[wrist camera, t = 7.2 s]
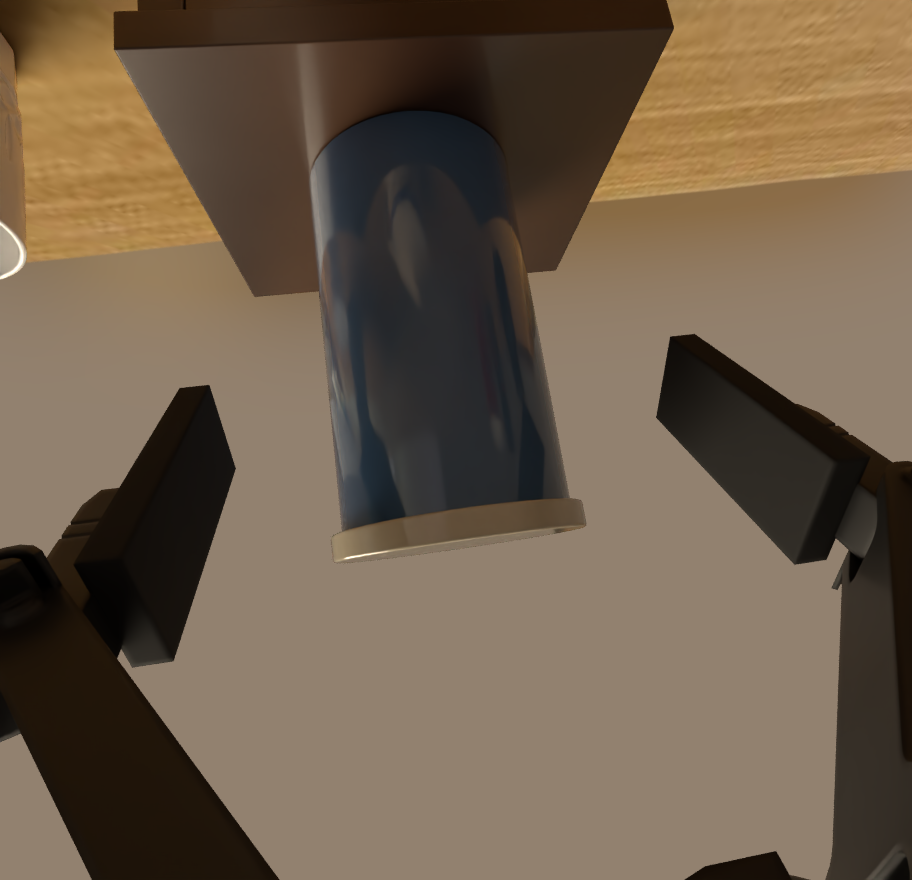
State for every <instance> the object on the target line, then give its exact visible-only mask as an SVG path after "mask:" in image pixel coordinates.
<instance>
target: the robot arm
mask: <svg viewBox="0 0 912 880" xmlns="http://www.w3.org/2000/svg"><path fill="white" fill-rule="evenodd" d="M656 418H657V419H658V420H659V421H660V422H661V423H662V424H663V425H664V426H665V427H666V429H667V430H668V431H669V432H670V433H671V434H672V435H673V436H674V437H675V438H676V439H677V440H678V441H679V442H680V443H681V444H682V446H683V447H684V448H685V449H686V450H687V451H688V452H689V453H690V454H691V455H692V456H693V457H694V458H695V459H696V460H697V462H699V464H700V465H701V466H702V467H703V468H704V469H705V470H706V471H707V472H708V473H709V474H710V475H711V476H712V477H713V478H714V480H715V481H716V482H717V483H718V484H719V485H720V486H721V487H722V488H723V489H724V490H725V491H726V492H727V493H728V494H729V496H730V497H731V498H732V499H734V501H735V502H736V503H737V504H738V505H739V506H740V507H741V508H742V509H743V510H744V511H745V513H747V515H748V516H749V517H750V518H751V519H752V520H753V521H754V522H755V523H756V524H757V525H758V526H759V527H760V528H761V530H762V531H763V532H764V533H765V534H766V535H767V536H768V537H769V538H770V539H771V540H772V541H773V542H774V543H775V544H776V545H777V547H778V548H779V549H780V550H781V551H782V552H783V553H784V554H785V555H786V556H787V557H788V558H789V559H790V560H791V561H792V562H793V563H794V564H802V563H809V562H814V561H821V560H826V559H827V557H828V555H829V553H830V550H831V548H832V545H833V543H834V541H835V539H837V540H839V541H840V542H841V543H842V544H843V545H844V546H845V547H846V548H847V549H848V550H849V551H848V553H847V555H846V557H845V560H844V562H843V564H842V566H841V568H840V570H839V573H838V575H837V577H836V579H835V582H834V584H833V586H832V588H833V589H836V590H838V588H839V586H840V584H842V598H841V600H842V601H841V627H840V655H839V683H838V711H837V739H836V767H835V795H834V824H833V848H832V857H831V863H830V867H829V870H828V873H827V876H826V880H912V462H910V461H901V462H894V463H893V462H891V461H890V460H888V459H887V458H885V457H884V456H882V455H881V454H879V453H878V452H877V451H875V450H873V449H872V448H871V447H869V446H868V445H866V444H865V443H863V442H862V441H860V440H859V439H857V438H856V437H854V436H853V435H849V434H848V432H847V431H845V430H844V429H843V428H841V427H840V426H835V423H834V422H832V421H831V420H829V419H828V418H826V417H825V416H823V415H822V414H820V413H819V412H817V411H814V410H812V409H809V408H807V407H804V406H802V405H799V404H794V403H793V402H791V401H790V400H788V399H787V398H786V397H784V396H783V395H781V394H780V393H778V392H777V391H776V390H774V389H773V388H771V387H770V386H769V385H767V384H766V383H764V382H763V381H761V380H760V379H758V378H757V377H756V376H754V375H753V374H751V373H750V372H748V371H747V370H746V369H744V368H743V367H741V366H740V365H738V364H737V363H736V362H734V361H732V360H731V359H729V358H728V357H727V356H725V355H724V354H722V353H721V352H720V351H718V350H717V349H715V348H714V347H713V346H711V345H710V344H708V343H707V342H705V341H704V340H702V339H701V338H700V337H698V336H697V335H695V334H691V335H681V336H672V337H670V341H669V347H668V352H667V358H666V365H665V370H664V376H663V381H662V387H661V393H660V399H659V405H658V411H657V416H656ZM235 469H236V468H235V465H234V462H233V458H232V455H231V452H230V449H229V446H228V443H227V440H226V436H225V433H224V430H223V427H222V424H221V420H220V417H219V414H218V411H217V408H216V405H215V402H214V398H213V395H212V392H211V389H210V386H209V385H204V386H195V387H186V388H180V389H179V390H178V392H177V393H176V395H175V397H174V398H173V400H172V402H171V403H170V405H169V407H168V408H167V410H166V412H165V413H164V415H163V417H162V418H161V420H160V421H159V423H158V425H157V427H156V428H155V430H154V431H153V433H152V435H151V437H150V438H149V440H148V441H147V443H146V445H145V446H144V448H143V450H142V451H141V453H140V454H139V456H138V458H137V459H136V461H135V463H134V464H133V466H132V468H131V469H130V471H129V473H128V474H127V476H126V478H125V479H124V481H123V483H122V484H121V486H120V488H115V489H105V490H101V491H99V492H98V493H97V494H96V495H94V496H93V497H92V498H91V499H89V500H88V501H87V502H86V503H84V504H83V505H82V506H81V508H80V509H79V511H78V512H77V514H76V515H75V517H74V518H73V519H72V521H71V525H69V526H68V527H67V528H66V530H65V531H64V533H63V534H62V539H59V540H58V542H57V543H56V545H55V546H54V548H53V549H52V551H51V552H50V554H49V555H48V557H47V558H46V556H45V555H44V553H43V551H42V550H40V549H39V548H37V547H35V546H34V545H16V546H11V547H6V548H2V549H0V742H2V741H4V740H6V739H9V738H11V737H14V736H16V735H18V734H22V736H23V739H24V741H25V742H26V745H27V746H28V749H29V751H30V753H31V755H32V757H33V759H34V761H35V763H36V765H37V767H38V769H39V772H40V773H41V776H42V778H43V780H44V782H45V784H46V786H47V788H48V790H49V792H50V794H51V796H52V798H53V800H54V802H55V805H56V807H57V809H58V811H59V813H60V815H61V817H62V819H63V821H64V823H65V825H66V827H67V829H68V831H69V833H70V836H71V838H72V840H73V841H74V844H75V846H76V847H77V850H78V852H79V854H80V856H81V858H82V860H83V862H84V864H85V866H86V869H87V871H88V873H89V875H90V877H91V878H92V880H279V879H278V877H277V876H276V874H275V873H274V872H273V870H272V869H271V868H270V866H269V865H268V864H267V862H266V861H265V860H264V858H263V857H262V855H261V854H260V853H259V851H258V850H257V849H256V847H255V846H254V845H253V843H252V842H251V841H250V839H249V838H248V836H247V835H246V834H245V832H244V831H243V830H242V828H241V827H240V826H239V824H238V823H237V822H236V820H235V819H234V817H233V816H232V815H231V813H230V812H229V811H228V809H227V808H226V806H225V805H224V804H223V802H222V801H221V800H220V799H219V797H218V796H217V794H216V793H215V792H214V790H213V789H212V787H211V786H210V785H209V783H208V782H207V781H206V779H205V778H204V777H203V775H202V774H201V772H200V771H199V770H198V768H197V767H196V766H195V764H194V763H193V762H192V760H191V759H190V757H189V756H188V755H187V753H186V752H185V751H184V749H183V748H182V747H181V745H180V744H179V743H178V741H177V740H176V738H175V737H174V736H173V734H172V733H171V732H170V730H169V729H168V728H167V726H166V725H165V723H164V722H163V721H162V719H161V718H160V717H159V715H158V714H157V713H156V711H155V710H154V709H153V707H152V706H151V705H150V703H149V702H148V700H147V699H146V698H145V696H144V695H143V694H142V692H141V691H140V689H139V688H138V687H137V685H136V684H135V683H134V681H133V680H132V679H131V677H130V676H129V675H128V673H127V672H126V670H125V669H124V668H123V667H122V665H121V664H120V662H119V661H118V660H117V657H118V655H119V652H120V650H121V649H122V651H123V652H124V654H125V656H126V658H127V659H128V661H129V663H130V665H131V666H132V667H139V666H146V665H152V664H159V663H164V662H172V661H174V658H175V655H176V652H177V649H178V646H179V643H180V640H181V636H182V633H183V630H184V627H185V624H186V621H187V618H188V614H189V612H190V608H191V605H192V602H193V599H194V596H195V593H196V590H197V587H198V584H199V581H200V578H201V575H202V571H203V568H204V565H205V562H206V559H207V556H208V553H209V550H210V547H211V543H212V540H213V537H214V534H215V531H216V528H217V525H218V522H219V519H220V516H221V513H222V510H223V506H224V503H225V500H226V497H227V494H228V491H229V488H230V485H231V482H232V478H233V475H234V472H235ZM685 880H809V879H804V878H801V877H797V876H791V875H789V874H788V872H787V870H786V868H785V866H784V864H783V863H782V861H781V859H780V857H779V855H778V854H777V852H776V851H774V852H770V853H765V854H761V855H756V856H751V857H746V858H742V859H737V860H733V861H728V862H723V863H718V864H714V865H709V866H705V867H704V868H702V869H700V870H699V871H697V872H696V873H694V874H693V875H691V876H690V877H688V878H687V879H685Z"/></svg>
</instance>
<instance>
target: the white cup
mask: <svg viewBox="0 0 912 880" xmlns="http://www.w3.org/2000/svg"><path fill="white" fill-rule="evenodd" d="M26 259H27V245H26V214H25V170H24V163H23V139H22V132H21V113H20V110H19V108H18V102H17V75H16V67H15V59H14V52H13V50H12V48H11V47H10V45H9V44H8V42H7V41H6V40H5V38H4V37H3V35H2V34H1V33H0V280H1V279H4V278H6V277H9V276H11V275H13V274H15V273H16V272H18V271H19V270H20V269H21V268H22V267H23V266H24V264H25V262H26Z"/></svg>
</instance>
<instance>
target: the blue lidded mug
mask: <svg viewBox="0 0 912 880" xmlns="http://www.w3.org/2000/svg"><path fill="white" fill-rule="evenodd" d="M309 194H310V204H311V215H312V225H313V235H314V246H315V256H316V266H317V277H318V287H319V297H320V307H321V318H322V328H323V339H324V349H325V360H326V369H327V379H328V391H329V401H330V411H331V422H332V432H333V442H334V452H335V463H336V473H337V484H338V494H339V504H340V515H341V525H342V532H339V533H337V534H335V535H333V536H332V538H331V545H332V555H333V562H334V563H353V562H363V561H372V560H380V559H389V558H397V557H405V556H412V555H420V554H427V553H433V552H441V551H448V550H455V549H461V548H469V547H476V546H482V545H489V544H495V543H501V542H508V541H514V540H521V539H527V538H533V537H539V536H544V535H550V534H555V533H561V532H566V531H571V530H575V529H580V528H583V527H585V526H586V519H585V514H584V510H583V504H582V501H581V500H578V499H572V498H570V497H569V492H568V487H567V481H566V476H565V471H564V466H563V460H562V455H561V450H560V444H559V439H558V433H557V428H556V423H555V417H554V412H553V408H552V402H551V396H550V391H549V386H548V380H547V375H546V370H545V365H544V359H543V354H542V349H541V343H540V338H539V333H538V328H537V322H536V317H535V311H534V306H533V301H532V296H531V290H530V285H529V280H528V274H527V269H526V264H525V258H524V253H523V248H522V243H521V237H520V232H519V227H518V221H517V216H516V211H515V205H514V200H513V195H512V190H511V184H510V179H509V174H508V168H507V164H506V159H505V156H504V154H503V152H502V150H501V148H500V147H499V145H498V144H497V142H496V141H495V140H494V139H493V138H492V137H491V136H490V135H489V134H488V133H487V132H486V131H485V130H483V129H482V128H481V127H479V126H478V125H476V124H474V123H472V122H470V121H468V120H466V119H463V118H461V117H458V116H455V115H451V114H447V113H443V112H436V111H427V110H408V111H399V112H392V113H387V114H383V115H379V116H376V117H373V118H370V119H367V120H364V121H362V122H360V123H358V124H355V125H353V126H351V127H350V128H348V129H347V130H345V131H343V132H342V133H340V134H339V135H338V136H337V137H335V138H334V139H333V140H332V141H330V143H329V144H328V145H327V146H326V147H325V148H324V149H323V150H322V152H321V153H320V155H319V156H318V158H317V159H316V161H315V163H314V166H313V168H312V170H311V175H310V179H309Z"/></svg>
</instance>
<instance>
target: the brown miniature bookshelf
mask: <svg viewBox="0 0 912 880" xmlns="http://www.w3.org/2000/svg"><path fill="white" fill-rule="evenodd" d="M673 29H674V25H673V22H672V18H671V15H670V11H669V8H668V4H667V1H666V0H138V11H119V12H114V50H115V52H116V54H117V55H118V57H119V59H120V61H121V62H122V64H123V66H124V68H125V69H126V71H127V73H128V75H129V76H130V78H131V80H132V82H133V84H134V85H135V87H136V89H137V91H138V92H139V94H140V96H141V98H142V99H143V101H144V103H145V105H146V107H147V108H148V110H149V112H150V114H151V115H152V117H153V119H154V121H155V122H156V124H157V126H158V128H159V129H160V131H161V133H162V135H163V137H164V138H165V140H166V142H167V144H168V145H169V147H170V149H171V151H172V152H173V154H174V156H175V158H176V159H177V161H178V163H179V165H180V167H181V168H182V170H183V172H184V174H185V175H186V177H187V179H188V181H189V182H190V184H191V186H192V188H193V189H194V191H195V193H196V195H197V197H198V198H199V200H200V202H201V204H202V205H203V207H204V209H205V211H206V212H207V214H208V216H209V218H210V219H211V221H212V223H213V225H214V227H215V228H216V230H217V232H218V234H219V235H220V237H221V239H222V241H223V242H224V244H225V246H226V248H227V249H228V251H229V253H230V255H231V257H232V258H233V260H234V262H235V264H236V265H237V267H238V269H239V270H240V272H241V274H242V276H243V278H244V279H245V281H246V283H247V285H248V286H249V288H250V290H251V292H252V294H253V295H254V296H255V297H258V296H270V295H281V294H292V293H304V292H316V291H319V287H318V277H317V266H316V256H315V246H314V235H313V225H312V215H311V204H310V194H309V179H310V175H311V170H312V168H313V166H314V163H315V161H316V159H317V158H318V156H319V155H320V153H321V152H322V150H323V149H324V148H325V147H326V146H327V145H328V144H329V143H330V141H332V140H333V139H334V138H335V137H337V136H338V135H339V134H340V133H342V132H343V131H345V130H347V129H348V128H350V127H351V126H353V125H355V124H358V123H360V122H362V121H364V120H367V119H370V118H373V117H376V116H379V115H383V114H387V113H392V112H399V111H408V110H427V111H436V112H443V113H447V114H451V115H455V116H458V117H461V118H463V119H466V120H468V121H470V122H472V123H474V124H476V125H478V126H479V127H481V128H482V129H483V130H485V131H486V132H487V133H488V134H489V135H490V136H491V137H492V138H493V139H494V140H495V141H496V142H497V144H498V145H499V147H500V148H501V150H502V152H503V154H504V156H505V159H506V164H507V168H508V174H509V179H510V184H511V190H512V195H513V200H514V205H515V211H516V216H517V221H518V227H519V232H520V237H521V243H522V248H523V253H524V258H525V264H526V269H527V273H532V272H543V271H554V270H556V269H557V267H558V264H559V263H560V261H561V259H562V257H563V255H564V253H565V250H566V248H567V246H568V244H569V242H570V240H571V238H572V236H573V234H574V232H575V230H576V228H577V226H578V224H579V222H580V220H581V218H582V216H583V214H584V212H585V210H586V208H587V205H588V203H589V201H590V199H591V197H592V195H593V193H594V191H595V189H596V187H597V185H598V183H599V181H600V179H601V177H602V175H603V173H604V171H605V169H606V167H607V165H608V163H609V160H610V158H611V156H612V154H613V152H614V150H615V148H616V146H617V144H618V142H619V140H620V138H621V136H622V134H623V132H624V130H625V128H626V126H627V124H628V122H629V120H630V117H631V115H632V113H633V111H634V109H635V107H636V105H637V103H638V101H639V99H640V97H641V95H642V93H643V91H644V89H645V87H646V85H647V83H648V81H649V79H650V77H651V75H652V72H653V70H654V68H655V66H656V64H657V62H658V60H659V58H660V56H661V54H662V52H663V50H664V48H665V46H666V44H667V42H668V40H669V38H670V36H671V34H672V32H673Z"/></svg>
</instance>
